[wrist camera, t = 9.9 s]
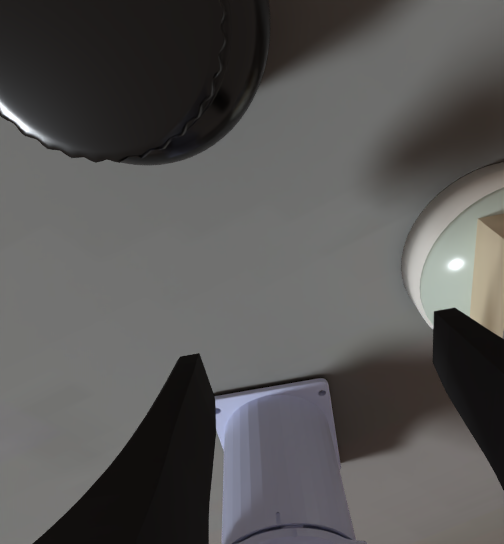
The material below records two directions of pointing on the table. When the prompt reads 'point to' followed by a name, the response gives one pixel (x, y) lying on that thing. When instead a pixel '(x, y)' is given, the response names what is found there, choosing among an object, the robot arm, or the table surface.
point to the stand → (450, 242)
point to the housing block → (489, 275)
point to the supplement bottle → (130, 74)
